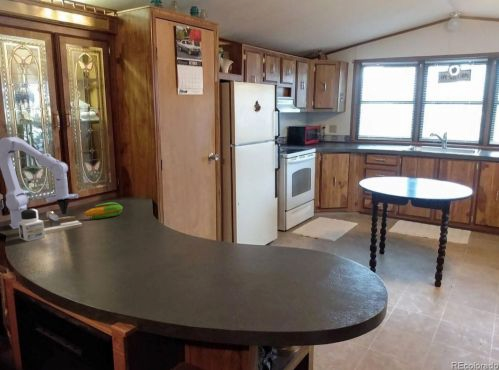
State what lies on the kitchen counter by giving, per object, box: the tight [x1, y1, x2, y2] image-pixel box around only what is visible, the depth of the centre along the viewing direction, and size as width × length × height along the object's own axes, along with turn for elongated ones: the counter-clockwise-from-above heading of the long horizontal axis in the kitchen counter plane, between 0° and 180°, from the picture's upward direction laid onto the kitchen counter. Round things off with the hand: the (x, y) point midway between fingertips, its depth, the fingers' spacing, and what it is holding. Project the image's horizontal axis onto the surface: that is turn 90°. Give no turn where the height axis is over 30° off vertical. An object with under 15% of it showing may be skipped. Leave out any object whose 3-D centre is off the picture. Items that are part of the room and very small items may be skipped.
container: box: [18, 208, 46, 242], centre depth 173 cm, size 8×8×13 cm
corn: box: [83, 201, 123, 219], centre depth 207 cm, size 7×8×20 cm
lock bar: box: [46, 210, 59, 221], centre depth 190 cm, size 12×3×2 cm, turn 41°
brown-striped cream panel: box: [42, 215, 83, 235], centre depth 191 cm, size 19×17×4 cm
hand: (64, 213), depth 192 cm, fingers closed
